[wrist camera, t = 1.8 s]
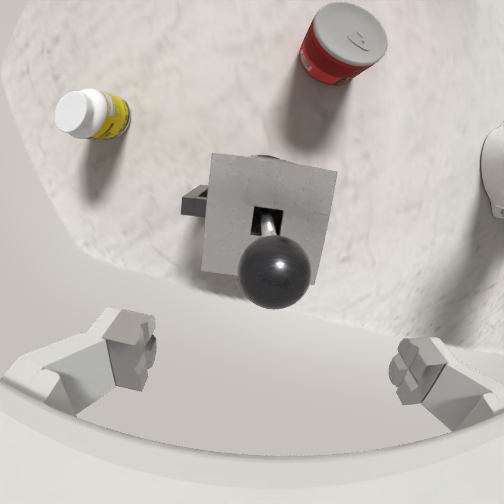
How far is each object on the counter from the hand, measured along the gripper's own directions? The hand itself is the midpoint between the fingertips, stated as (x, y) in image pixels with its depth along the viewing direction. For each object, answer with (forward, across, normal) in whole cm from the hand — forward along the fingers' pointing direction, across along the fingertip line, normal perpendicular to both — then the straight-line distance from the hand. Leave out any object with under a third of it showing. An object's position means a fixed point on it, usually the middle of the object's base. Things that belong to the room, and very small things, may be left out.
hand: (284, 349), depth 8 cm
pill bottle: (+31, +22, -9) cm, 39 cm away
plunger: (+21, 0, 0) cm, 21 cm away
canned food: (+31, -6, -20) cm, 37 cm away
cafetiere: (+31, +1, 0) cm, 31 cm away
